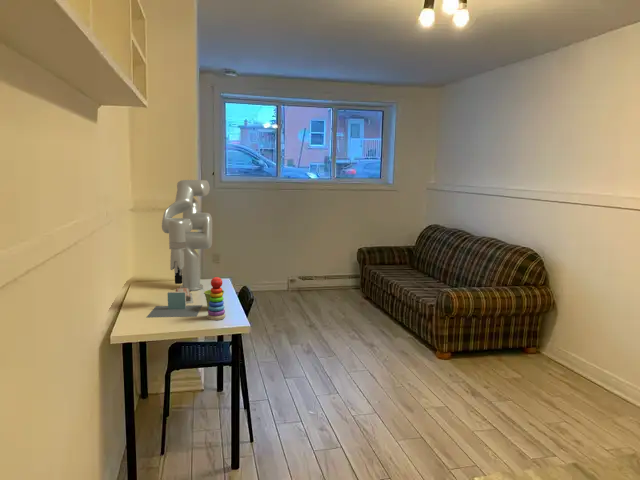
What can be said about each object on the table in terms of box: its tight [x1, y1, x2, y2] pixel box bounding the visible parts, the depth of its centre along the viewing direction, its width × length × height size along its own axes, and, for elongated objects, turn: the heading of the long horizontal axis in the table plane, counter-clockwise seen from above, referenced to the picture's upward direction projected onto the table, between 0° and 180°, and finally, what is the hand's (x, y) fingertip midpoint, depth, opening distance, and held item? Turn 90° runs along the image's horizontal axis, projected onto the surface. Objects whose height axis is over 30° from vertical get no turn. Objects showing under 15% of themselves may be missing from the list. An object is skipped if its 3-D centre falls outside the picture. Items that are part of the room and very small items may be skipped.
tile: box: [167, 291, 187, 309], centre depth 227 cm, size 2×8×8 cm, turn 96°
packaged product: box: [175, 287, 194, 305], centre depth 244 cm, size 18×5×10 cm
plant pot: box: [203, 289, 225, 311], centre depth 227 cm, size 9×9×9 cm
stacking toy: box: [206, 276, 226, 321], centre depth 213 cm, size 8×8×19 cm
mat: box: [146, 304, 203, 319], centre depth 223 cm, size 18×22×1 cm
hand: (178, 283), depth 231 cm, fingers closed
